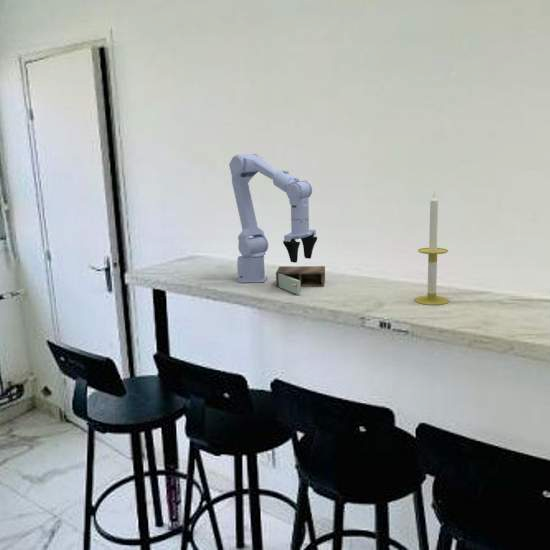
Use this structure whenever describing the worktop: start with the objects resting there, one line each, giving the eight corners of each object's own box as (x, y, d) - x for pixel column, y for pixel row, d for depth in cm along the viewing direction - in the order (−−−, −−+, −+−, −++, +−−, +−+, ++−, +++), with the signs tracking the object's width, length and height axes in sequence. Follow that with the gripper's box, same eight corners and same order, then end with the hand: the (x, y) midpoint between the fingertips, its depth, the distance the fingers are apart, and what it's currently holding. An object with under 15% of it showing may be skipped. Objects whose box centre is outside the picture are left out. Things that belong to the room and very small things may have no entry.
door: (275, 287, 202) (274, 274, 201) (280, 286, 203) (280, 273, 202) (295, 295, 191) (294, 281, 190) (300, 294, 191) (300, 280, 190)
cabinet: (276, 286, 204) (275, 272, 203) (279, 280, 213) (279, 266, 212) (323, 286, 202) (323, 272, 200) (325, 280, 211) (324, 266, 210)
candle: (449, 297, 183) (452, 189, 176) (448, 305, 174) (452, 192, 167) (415, 295, 186) (417, 190, 179) (413, 304, 177) (415, 193, 170)
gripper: (296, 222, 187) (297, 265, 190) (323, 217, 198) (323, 257, 201) (278, 221, 191) (279, 263, 194) (305, 216, 202) (306, 255, 205)
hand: (300, 260), depth 198 cm, fingers open, 7 cm apart
